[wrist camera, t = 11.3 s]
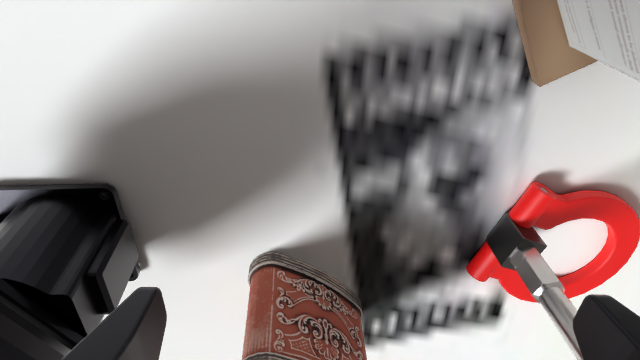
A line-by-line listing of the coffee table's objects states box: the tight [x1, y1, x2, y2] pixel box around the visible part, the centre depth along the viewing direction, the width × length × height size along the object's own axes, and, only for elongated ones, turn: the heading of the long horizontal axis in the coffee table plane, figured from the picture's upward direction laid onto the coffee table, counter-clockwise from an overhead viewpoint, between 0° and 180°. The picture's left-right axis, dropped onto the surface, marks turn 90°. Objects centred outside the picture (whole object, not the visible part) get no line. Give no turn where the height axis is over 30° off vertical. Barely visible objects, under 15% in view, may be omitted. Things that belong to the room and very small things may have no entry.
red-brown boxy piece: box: [242, 252, 367, 360], centre depth 23 cm, size 8×3×10 cm, turn 51°
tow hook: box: [466, 182, 640, 360], centre depth 21 cm, size 8×13×9 cm
